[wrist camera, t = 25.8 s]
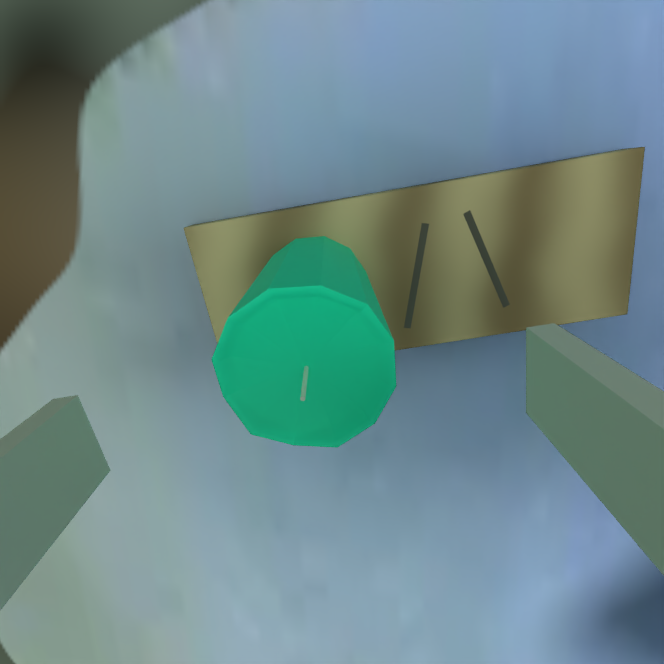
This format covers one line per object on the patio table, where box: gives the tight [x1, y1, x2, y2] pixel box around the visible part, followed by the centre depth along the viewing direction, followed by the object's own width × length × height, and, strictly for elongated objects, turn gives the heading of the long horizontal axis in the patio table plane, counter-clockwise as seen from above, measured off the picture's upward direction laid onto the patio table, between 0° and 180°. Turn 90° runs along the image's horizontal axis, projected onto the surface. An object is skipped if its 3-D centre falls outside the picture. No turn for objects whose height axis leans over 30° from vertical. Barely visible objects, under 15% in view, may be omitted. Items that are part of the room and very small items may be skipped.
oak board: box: [184, 147, 645, 350], centre depth 23 cm, size 24×9×2 cm, turn 99°
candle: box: [212, 236, 396, 447], centre depth 17 cm, size 6×6×12 cm
